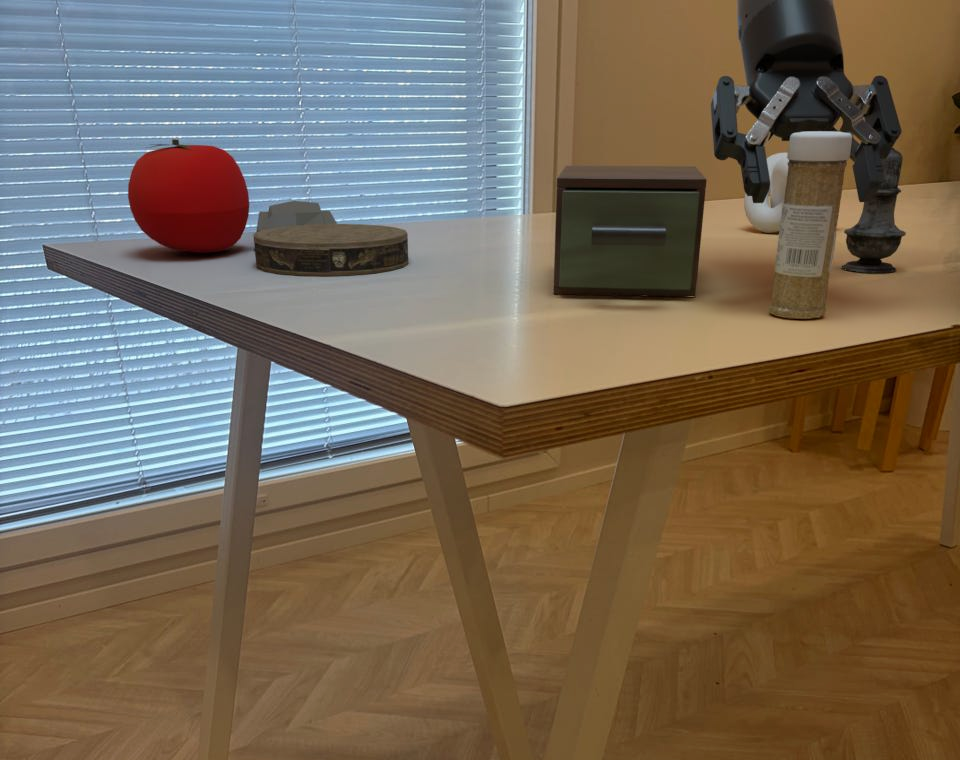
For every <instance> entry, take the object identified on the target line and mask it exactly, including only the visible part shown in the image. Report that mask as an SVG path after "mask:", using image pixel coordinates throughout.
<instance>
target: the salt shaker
mask: <svg viewBox="0 0 960 760" xmlns="http://www.w3.org/2000/svg"><path fill="white" fill-rule="evenodd" d="M903 158H904V157H903V154H902V153H901V152H900V151H899V150H897V149H895V147H892V149H891V152H890V153H889V155H888V157H887V158H885V159H881V163H882V168H883V173H884V180H883V183H882V184H881V186H880V188H879V190H878V191H877V193H876V195H874V196H873V198H872V199H871V201H870V202H863V205H862V206H863V207H862V212H861V215H860V216H859V219H858V222H857V223H856V224H855V225H853V226H852V227H850V228H846V229H844V231H843V233H844V234H845V235H846V238H845V243H846V248H847V251H848V252H849V253H850V255H852V256H854V257H856V258H858V260H851V261H847V262H846V263H844V264H842V265H841V267H842V268H843V269H842V268H841V269H842V270H844V269H846V270H845V271H847V270H850V271H849V272H852V271H856V272H855V273H861V272H862V273H863V274H890V273H895V272H896V271H897V268H896V267H895V266H893V264H892V263H889V262H885V261H882V260H883V259H887V258H890V257H891V256H892V255H893V254H895V253H896V252H897V251H898V250H899V247H900V245H901V243H902V238H903V237H905V236H906V234H907V232H906V231H904V230H901V229H900V228H899V227H898V226H897V225H896V223H895V210H896V204H897V198H898V195H899V193H902V190H901V189H900V188H899V182H900V178H901V177H900V176H901V172H902V166H903V160H904V159H903Z"/></svg>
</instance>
